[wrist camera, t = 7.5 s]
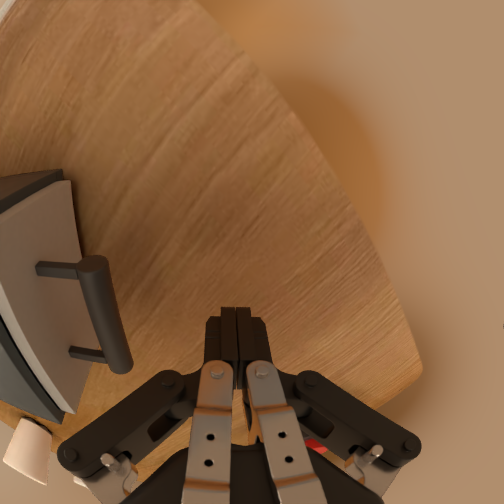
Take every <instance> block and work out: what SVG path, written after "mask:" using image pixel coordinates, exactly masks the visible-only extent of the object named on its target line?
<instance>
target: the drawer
mask: <svg viewBox="0 0 504 504" xmlns="http://www.w3.org/2000/svg"><path fill="white" fill-rule="evenodd" d="M0 320H1V322H2V324H3V326H4V328H5V330H6V332H7V333H8V335H9V337H10V339H11V341H12V342H13V344H14V346H15V348H16V349H17V351H18V353H19V354H20V356H21V358H22V359H23V361H24V363H25V364H26V366H27V367H28V369H29V370H30V372H31V373H32V375H33V376H34V378H35V379H36V380H37V382H38V383H39V385H40V386H41V387H42V389H43V390H44V392H45V391H47V392H48V394H49V395H50V396H51V398H52V399H53V400H54V401H55V403H56V404H57V405H58V406H59V408H60V409H61V410H62V411H66V412H69V413H73V414H76V412H77V408H78V405H79V402H80V398H81V395H82V392H83V389H84V386H85V383H86V380H87V377H88V374H89V371H90V368H91V366H92V363H93V362H98V363H104V364H107V363H108V366H109V368H110V370H111V371H112V372H114V373H116V374H126V373H128V372H129V371H130V370H131V369H132V368H133V365H134V362H133V359H132V355H131V352H130V349H129V346H128V343H127V339H126V336H125V332H124V329H123V325H122V321H121V317H120V314H119V310H118V306H117V301H116V297H115V293H114V288H113V283H112V278H111V273H110V268H109V263H108V260H107V258H106V257H104V256H101V255H92V256H88V257H85V258H83V259H82V256H81V251H80V246H79V241H78V235H77V229H76V223H75V216H74V209H73V201H72V191H71V181H70V180H65V181H56V182H54V183H52V184H50V185H48V186H46V187H45V188H43V189H41V190H39V191H37V192H36V193H34V194H32V195H30V196H29V197H27V198H25V199H24V200H22V201H20V202H19V203H17V204H16V205H14V206H12V207H11V208H9V209H8V210H6V211H5V212H3V213H2V214H0ZM99 344H100V346H101V349H102V350H98V347H99Z"/></svg>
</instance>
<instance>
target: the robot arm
mask: <svg viewBox="0 0 504 504" xmlns="http://www.w3.org/2000/svg"><path fill="white" fill-rule="evenodd" d="M236 381H237V389H242V394H243V398H242V406H243V411H244V417H245V422H246V428H247V433H248V446H242V445H236V444H232V443H231V426H232V400H233V390H234V389H236ZM192 416H193V418H192V426H191V434H190V441H189V447H187V448H184V449H182V450H180V451H178V452H176V453H175V454H173V455H172V456H171V457H170V458H169V459H168V460H167V461H165V462H164V463H163V464H162V465H161V466H160V467H159V468H158V469H157V470H156V471H155V472H154V473H153V474H152V475H151V476H150V477H149V478H147V479H146V480H145V481H144V482H143V483H142V484H141V485H140V486H139V487H138V488H136V489H135V490H134V491H133V492H132V493H131V487H132V485H133V484H134V483H135V481H136V480H137V478H138V471H137V468H136V466H135V465H136V464H137V463H138V462H140V461H141V460H142V459H143V458H144V457H146V456H147V455H148V454H149V453H150V452H152V451H153V450H154V449H155V448H156V447H157V446H159V445H160V444H161V443H162V442H163V441H164V440H165V439H167V438H168V437H169V436H170V435H171V434H172V433H173V432H174V431H175V430H177V429H178V428H179V427H180V426H181V425H182V424H183V423H184V422H185V421H186V420H187V419H188V418H189V417H192ZM300 429H301V430H302V431H304V432H305V433H306V434H308V435H309V436H310V437H312V438H313V439H315V440H316V441H317V442H319V443H320V444H321V445H323V446H324V447H326V448H327V449H328V450H330V451H331V452H333V453H334V454H336V455H337V456H339V457H340V458H342V459H343V460H345V470H346V472H347V473H348V474H349V475H350V476H349V475H348V474H347V473H345V472H344V471H342V470H341V469H340V468H338V467H337V466H335V465H334V464H333V463H331V462H330V461H329V460H327V459H326V458H325V457H323V456H322V455H321V454H320V453H318V452H317V451H315V450H314V449H312V448H310V447H308V446H305V442H304V439H303V436H302V433H301V430H300ZM420 451H421V441H420V439H419V438H418V437H417V436H416V435H415V434H413V433H411V432H409V431H408V430H406V429H404V428H403V427H401V426H399V425H398V424H396V423H394V422H393V421H391V420H389V419H388V418H386V417H385V416H383V415H381V414H380V413H378V412H377V411H375V410H373V409H372V408H370V407H369V406H367V405H366V404H364V403H362V402H361V401H359V400H358V399H356V398H355V397H353V396H352V395H350V394H349V393H347V392H346V391H344V390H343V389H341V388H340V387H338V386H337V385H335V384H334V383H332V382H331V381H330V380H328V379H327V378H325V377H324V376H322V375H321V374H319V373H318V372H315V371H311V370H307V371H303V372H301V373H299V374H298V375H292V374H287V373H284V372H281V371H280V370H278V369H277V368H276V367H275V366H274V364H273V362H272V357H271V352H270V347H269V342H268V336H267V331H266V326H265V323H264V322H263V321H262V319H261V318H260V317H251V310H250V307H236V309H235V307H221V317H218V316H210V318H209V319H208V321H207V322H206V332H205V350H204V363H203V365H202V367H201V368H200V369H199V370H198V371H196V372H194V373H191V374H187V375H181V374H180V373H178V372H176V371H174V370H164V371H161V372H159V373H157V374H156V375H155V376H153V377H152V378H151V379H150V380H148V381H147V382H146V383H144V384H143V385H142V386H140V387H139V388H138V389H136V390H135V391H134V392H132V393H131V394H130V395H128V396H127V397H126V398H124V399H123V400H122V401H120V402H119V403H118V404H116V405H115V406H114V407H112V408H111V409H109V410H108V411H107V412H105V413H104V414H103V415H101V416H100V417H98V418H97V419H96V420H94V421H93V422H91V423H90V424H89V425H87V426H86V427H84V428H83V429H82V430H80V431H79V432H77V433H76V434H74V435H73V436H72V437H70V438H69V439H67V440H66V441H64V442H63V443H62V444H61V445H60V446H59V447H58V450H57V458H58V461H59V462H60V464H61V465H62V466H63V467H64V468H65V469H67V470H68V471H70V472H71V473H72V474H73V475H74V476H76V477H78V478H79V479H81V481H82V482H83V483H84V484H85V485H86V487H87V488H88V489H89V490H90V491H91V492H92V493H93V494H94V496H95V497H96V498H97V499H98V500H99V501H100V502H101V503H102V504H384V502H383V500H382V498H381V497H382V496H383V494H384V493H385V491H386V490H387V489H388V487H389V486H390V484H391V483H392V481H393V480H394V478H395V477H396V475H397V474H398V472H399V471H400V469H401V467H402V466H404V465H405V464H407V463H408V462H410V461H411V460H413V459H414V458H416V457H417V456H418V455H419V453H420Z"/></svg>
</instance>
